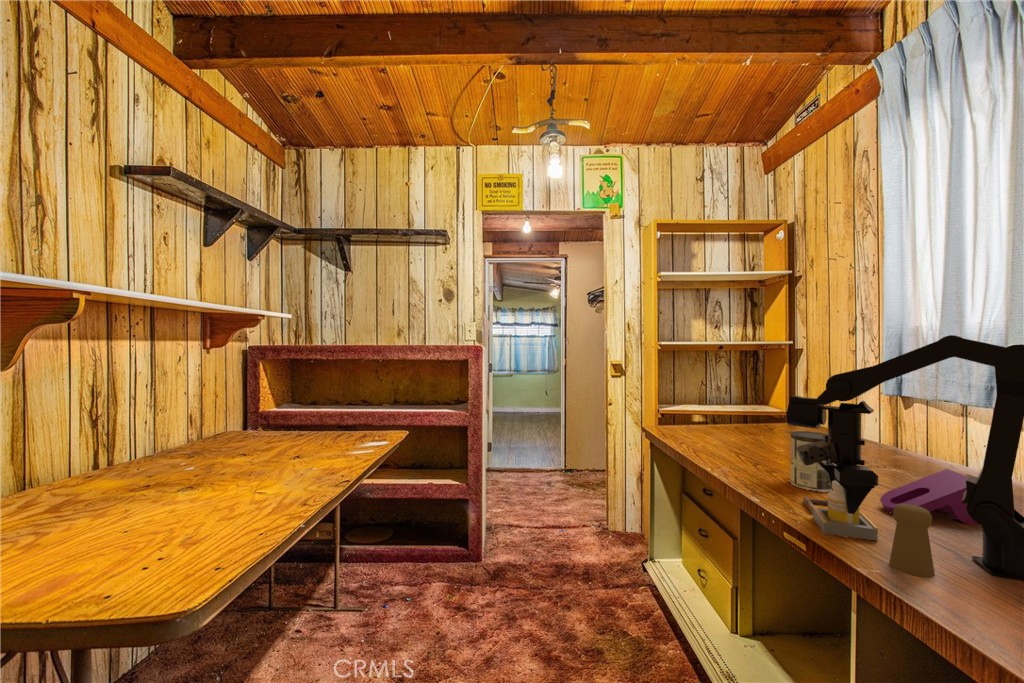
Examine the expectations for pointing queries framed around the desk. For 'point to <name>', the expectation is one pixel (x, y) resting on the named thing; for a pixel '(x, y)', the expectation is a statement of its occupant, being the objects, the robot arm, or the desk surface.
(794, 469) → the coffee can
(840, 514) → the supplement bottle
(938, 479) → the mounting bracket
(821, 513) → the socket plate
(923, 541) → the cork
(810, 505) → the frame
